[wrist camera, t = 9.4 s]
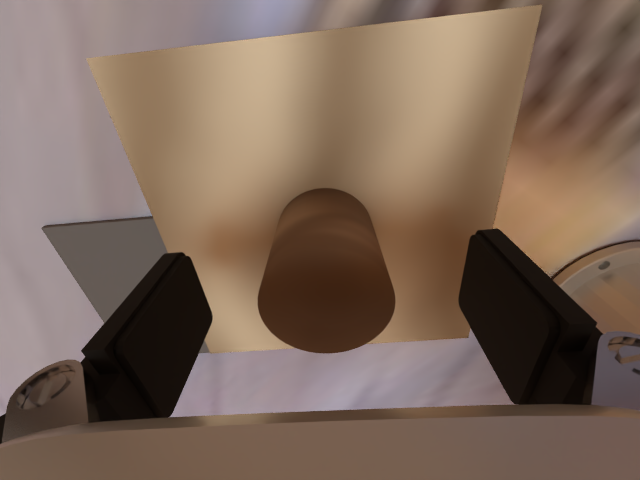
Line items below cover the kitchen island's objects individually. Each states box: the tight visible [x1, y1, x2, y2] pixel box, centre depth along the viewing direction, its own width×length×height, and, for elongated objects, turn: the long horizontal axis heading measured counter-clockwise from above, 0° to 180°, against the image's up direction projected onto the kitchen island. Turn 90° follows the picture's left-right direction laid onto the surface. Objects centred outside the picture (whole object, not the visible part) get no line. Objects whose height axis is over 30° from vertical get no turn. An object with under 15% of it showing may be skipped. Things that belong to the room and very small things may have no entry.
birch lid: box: [86, 5, 542, 353], centre depth 11 cm, size 14×14×5 cm
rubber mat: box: [42, 217, 210, 353], centre depth 28 cm, size 16×16×1 cm
